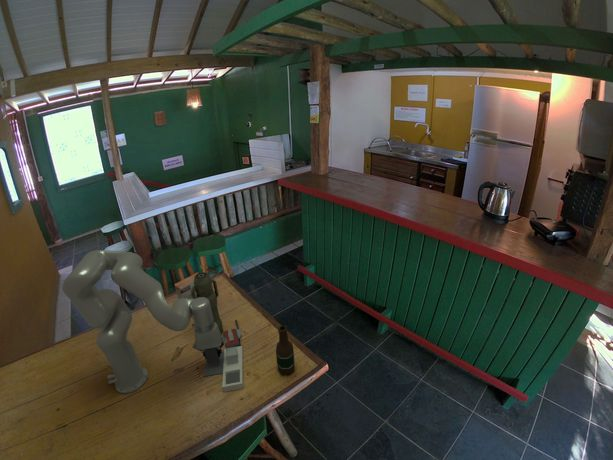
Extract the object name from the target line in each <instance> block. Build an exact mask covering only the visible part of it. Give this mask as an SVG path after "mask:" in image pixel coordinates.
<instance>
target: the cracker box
mask: <svg viewBox="0 0 613 460" xmlns="http://www.w3.org/2000/svg"><path fill="white" fill-rule="evenodd" d="M198 273H199V272H195V273H193V274H191V275H189V276H188V277H186V278H184V279H182V280H180V281H178V282H176V283H174V289H175V293H176V297H177V299H181V298H188V299H193V298H192V294H191V289H192V288H193V286H194V277H195V275H196V274H198ZM194 293H195V297H196V298H197V292H196V290H195V291H194ZM190 318H193V316H192V315H191V316H190Z"/></svg>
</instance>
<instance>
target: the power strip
mask: <svg viewBox="0 0 613 460" xmlns="http://www.w3.org/2000/svg"><path fill="white" fill-rule="evenodd" d="M223 351H224V366H223V374H222V385H221V386H222V391H223V392H224V393H225V392H226V393H227V392H230V391H236V390H240V389H241V390H242V389H244V353H243V352H244V350H243V346H242V345H241V346H238V347H231V348H226V347H225V348H224V350H223Z"/></svg>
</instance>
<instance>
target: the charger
mask: <svg viewBox="0 0 613 460" xmlns="http://www.w3.org/2000/svg"><path fill="white" fill-rule="evenodd" d="M204 352H205V356H206V359H205V361H206V360H207V363H213V362H218V361H219V358H220V357H219V356H218V352H217V347H215V348H210V349H204ZM205 356H204V357H205Z"/></svg>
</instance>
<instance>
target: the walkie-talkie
mask: <svg viewBox="0 0 613 460" xmlns="http://www.w3.org/2000/svg"><path fill="white" fill-rule="evenodd" d="M234 321H235V326H236V328H231V329H227V330H225V331H223V333H222V336H223V337H225V338H226V339H227V342H226V343H225V344H224V345H225V349H226V348H231V347H238V346H242V345H241V339H242V338H243V333H242V330H241V328H240V327H239V326H240V325H239V322H238V320H237V319H235V320H234Z"/></svg>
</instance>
